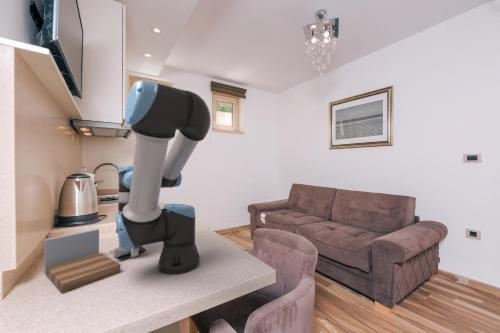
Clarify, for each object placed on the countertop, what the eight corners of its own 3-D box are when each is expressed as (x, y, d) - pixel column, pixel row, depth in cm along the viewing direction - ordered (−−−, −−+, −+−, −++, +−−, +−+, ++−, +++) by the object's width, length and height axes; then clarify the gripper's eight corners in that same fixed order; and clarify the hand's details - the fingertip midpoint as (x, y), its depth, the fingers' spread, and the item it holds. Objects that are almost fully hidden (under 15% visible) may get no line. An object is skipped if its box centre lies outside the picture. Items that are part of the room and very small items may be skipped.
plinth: (120, 272, 75) (120, 264, 75) (61, 294, 62) (61, 283, 62) (100, 260, 86) (100, 252, 86) (46, 276, 73) (46, 267, 73)
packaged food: (110, 257, 89) (110, 245, 89) (140, 249, 98) (140, 238, 98) (116, 263, 83) (116, 251, 83) (147, 255, 92) (147, 243, 92)
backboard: (98, 259, 87) (99, 229, 87) (45, 274, 74) (45, 240, 74) (97, 257, 88) (97, 229, 88) (44, 273, 75) (44, 239, 75)
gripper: (151, 202, 87) (151, 256, 87) (125, 198, 101) (125, 244, 101) (132, 205, 81) (132, 262, 81) (107, 200, 95) (107, 249, 95)
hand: (128, 252), depth 91 cm, fingers open, 11 cm apart
